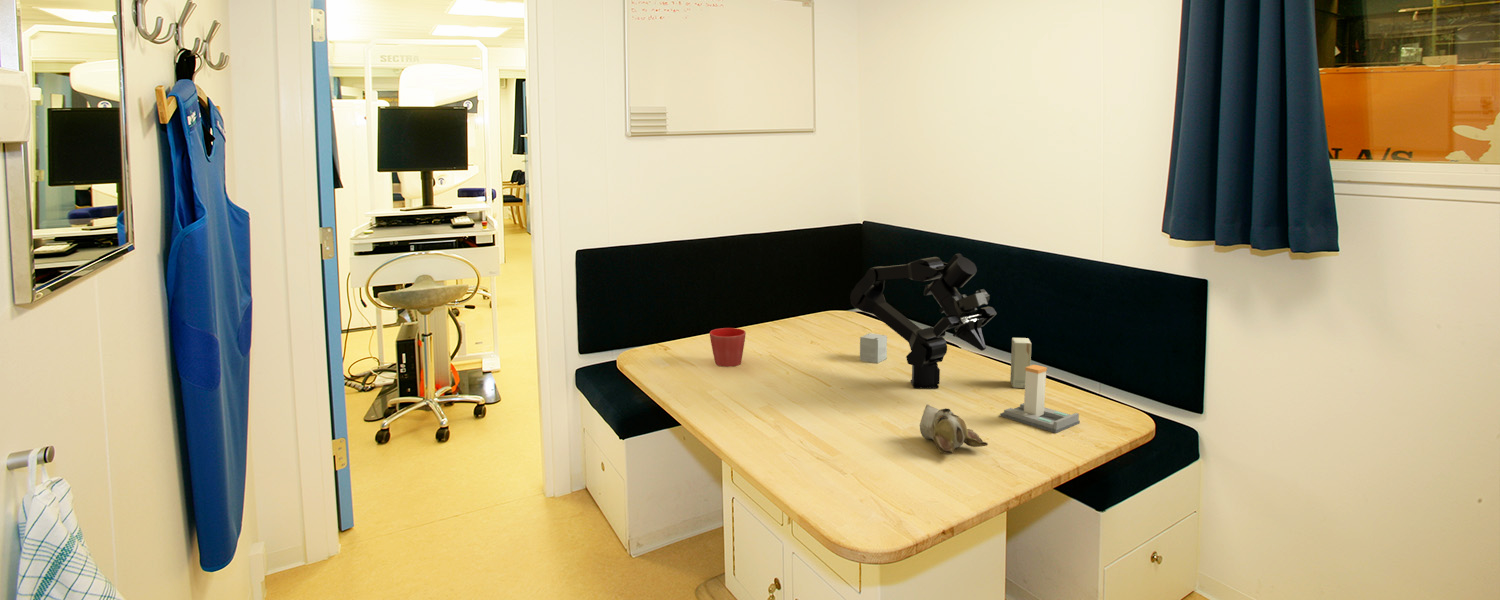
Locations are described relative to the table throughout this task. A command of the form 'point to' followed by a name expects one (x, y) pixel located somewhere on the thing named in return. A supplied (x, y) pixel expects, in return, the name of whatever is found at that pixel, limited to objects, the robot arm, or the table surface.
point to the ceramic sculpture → (947, 430)
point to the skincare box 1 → (873, 348)
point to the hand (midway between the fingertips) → (984, 349)
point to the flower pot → (727, 346)
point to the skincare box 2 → (1020, 361)
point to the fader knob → (1035, 390)
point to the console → (1043, 418)
